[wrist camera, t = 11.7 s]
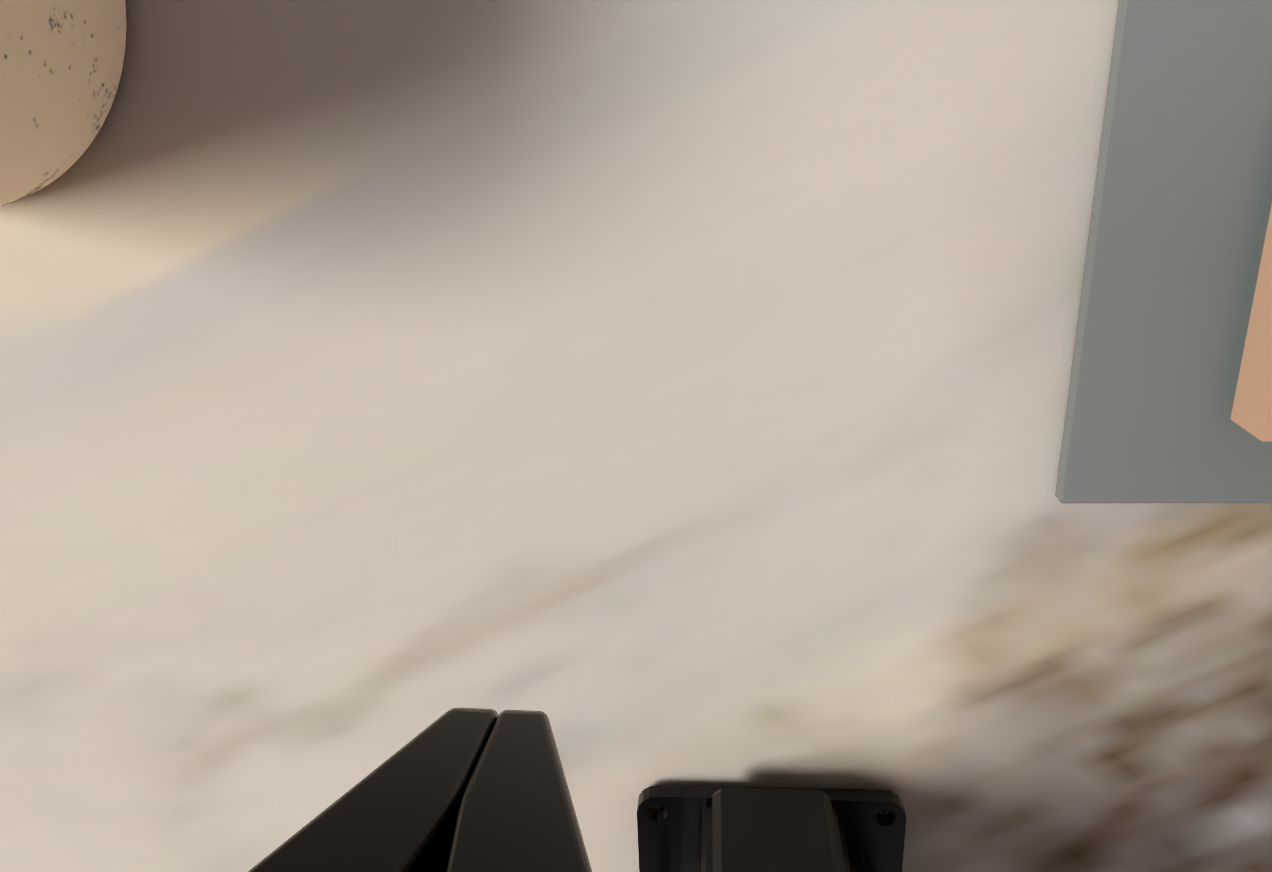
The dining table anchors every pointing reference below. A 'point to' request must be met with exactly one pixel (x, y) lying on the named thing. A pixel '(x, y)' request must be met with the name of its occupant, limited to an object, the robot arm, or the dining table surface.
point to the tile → (1258, 356)
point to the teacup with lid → (54, 85)
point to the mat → (1173, 260)
